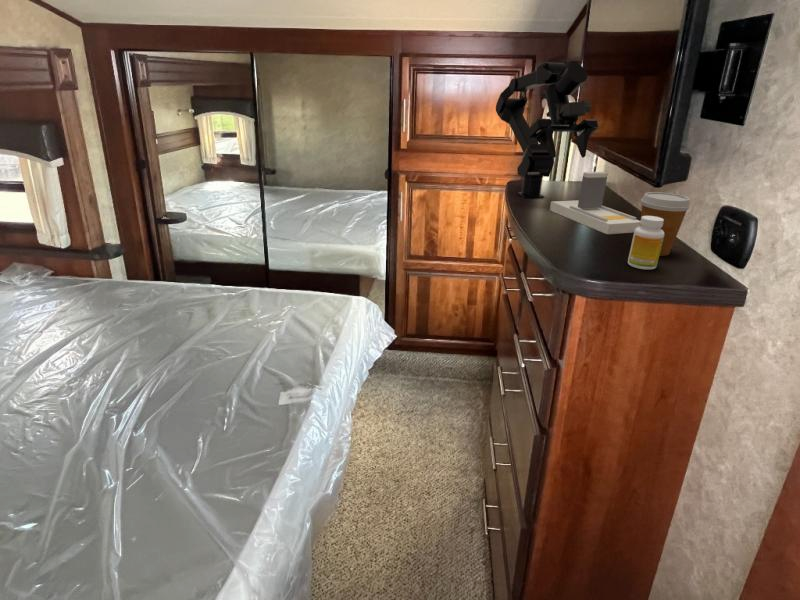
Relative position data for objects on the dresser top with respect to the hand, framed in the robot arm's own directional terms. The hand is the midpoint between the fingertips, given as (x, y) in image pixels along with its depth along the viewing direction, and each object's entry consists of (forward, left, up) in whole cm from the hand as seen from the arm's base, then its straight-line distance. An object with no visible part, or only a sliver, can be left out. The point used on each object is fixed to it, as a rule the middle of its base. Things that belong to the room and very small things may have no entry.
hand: (569, 157), depth 141 cm
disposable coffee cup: (+38, +5, -15) cm, 41 cm away
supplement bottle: (+47, -3, -15) cm, 49 cm away
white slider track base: (+12, +3, -14) cm, 19 cm away
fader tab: (+10, +3, -11) cm, 16 cm away
